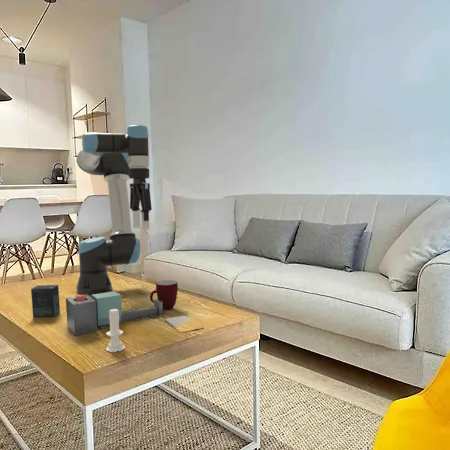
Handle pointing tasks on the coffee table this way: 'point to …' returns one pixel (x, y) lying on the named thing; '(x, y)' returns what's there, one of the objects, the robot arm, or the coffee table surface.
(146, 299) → the coffee table surface
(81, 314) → the gray button box
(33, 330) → the coffee table surface
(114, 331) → the candle
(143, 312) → the rail
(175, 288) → the mug
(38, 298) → the box
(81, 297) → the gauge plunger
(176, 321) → the smartphone
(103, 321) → the block
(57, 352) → the coffee table surface
